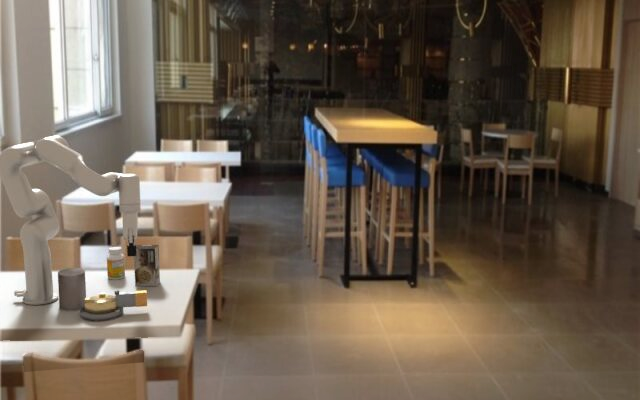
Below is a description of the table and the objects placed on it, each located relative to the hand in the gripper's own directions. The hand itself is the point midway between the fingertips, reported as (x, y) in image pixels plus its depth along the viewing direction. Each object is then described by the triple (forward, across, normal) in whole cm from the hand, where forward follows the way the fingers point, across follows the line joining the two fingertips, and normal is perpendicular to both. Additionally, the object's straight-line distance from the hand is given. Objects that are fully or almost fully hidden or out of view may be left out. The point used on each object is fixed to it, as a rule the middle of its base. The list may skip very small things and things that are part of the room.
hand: (131, 255), depth 266 cm
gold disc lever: (+17, +9, -6) cm, 20 cm away
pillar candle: (+19, -2, -22) cm, 29 cm away
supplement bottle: (+19, -37, -8) cm, 42 cm away
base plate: (+19, +9, -11) cm, 24 cm away
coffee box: (+19, -25, +5) cm, 32 cm away
